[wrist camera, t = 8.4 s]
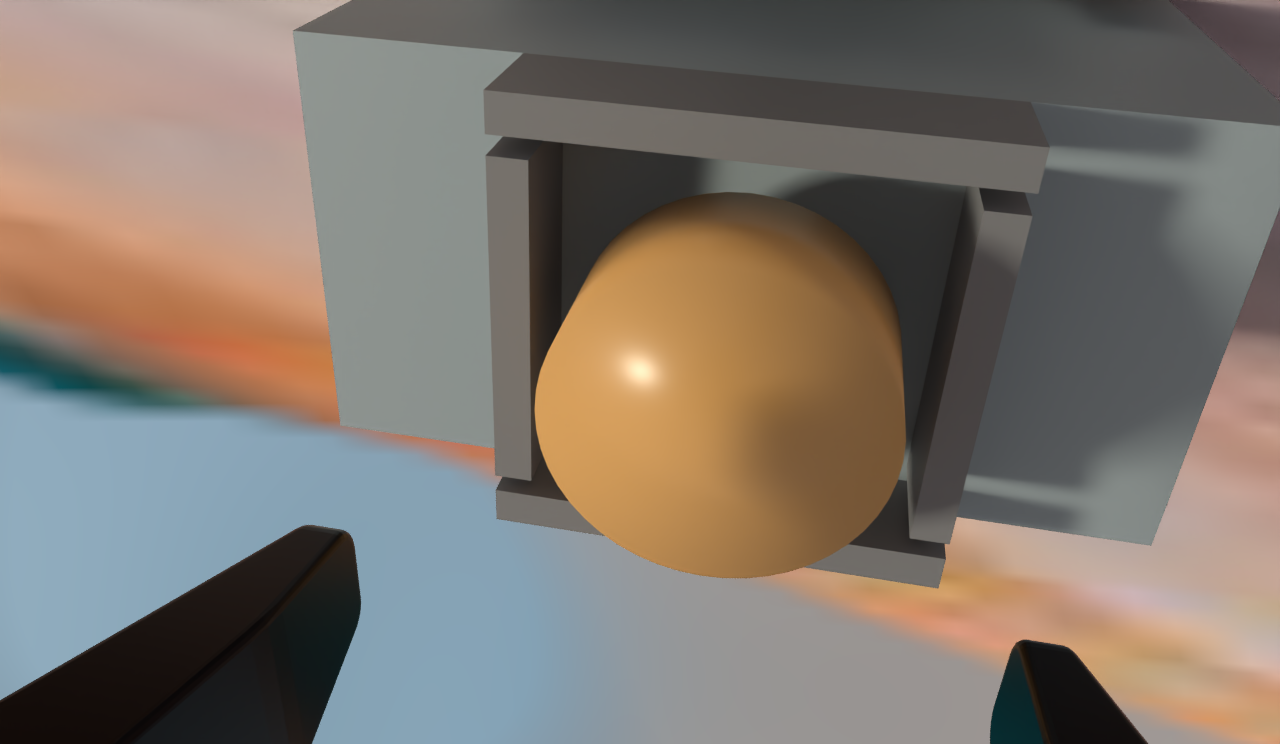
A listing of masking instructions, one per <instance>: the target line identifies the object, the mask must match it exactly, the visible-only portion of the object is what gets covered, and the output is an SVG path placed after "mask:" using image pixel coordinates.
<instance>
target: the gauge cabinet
mask: <svg viewBox="0 0 1280 744" xmlns="http://www.w3.org/2000/svg"><path fill="white" fill-rule="evenodd" d="M293 36H294V45H295V53H296V61H297V69H298V78H299V86H300V94H301V102H302V111H303V119H304V127H305V135H306V144H307V152H308V160H309V168H310V177H311V185H312V193H313V202H314V210H315V218H316V226H317V235H318V243H319V251H320V259H321V268H322V276H323V284H324V292H325V301H326V309H327V317H328V325H329V334H330V342H331V350H332V359H333V367H334V375H335V383H336V392H337V400H338V408H339V416H340V425H341V426H347V427H354V428H361V429H368V430H374V431H381V432H388V433H395V434H401V435H408V436H415V437H422V438H428V439H435V440H442V441H449V442H455V443H462V444H469V445H476V446H482V447H489V448H495V475H496V476H503V477H502V479H501V481H500V483H499V485H498V487H497V489H496V510H497V519H501V520H507V521H514V522H520V523H526V524H532V525H539V526H545V527H551V528H558V529H564V530H570V531H577V532H583V533H589V534H596V535H602V536H605V535H603V534H602V533H601V532H599V531H598V530H597V529H596V528H595V527H594V526H593V525H591V524H590V523H589V522H588V521H587V520H586V519H585V518H584V517H583V516H582V515H581V514H580V513H579V512H578V511H577V510H576V509H575V508H574V507H573V505H572V504H571V503H570V502H569V501H568V499H567V498H566V496H565V495H564V494H563V492H562V491H561V490H560V488H559V487H558V485H557V483H556V482H555V480H554V478H553V476H552V474H551V472H550V471H549V469H548V467H547V464H546V461H545V459H544V456H543V453H542V451H541V448H540V444H539V439H538V435H537V431H536V421H535V396H536V387H537V383H538V379H539V374H540V370H541V368H542V365H543V363H544V360H545V358H546V355H547V353H548V350H549V349H550V347H551V345H552V343H553V341H554V339H555V337H556V335H557V333H558V331H559V330H560V328H561V326H562V324H563V322H564V320H565V318H566V316H567V314H568V312H569V310H570V309H571V307H572V305H573V303H574V301H575V299H576V297H577V295H578V293H579V291H580V290H581V288H582V286H583V284H584V282H585V280H586V278H587V276H588V274H589V272H590V271H591V269H592V267H593V266H594V264H595V262H596V261H597V259H598V257H599V255H600V254H601V253H602V252H603V250H604V249H605V248H606V247H607V246H608V244H609V243H610V242H611V241H612V240H613V239H614V238H615V237H616V236H617V235H618V234H619V233H620V232H621V231H622V230H623V229H625V228H626V227H627V226H628V225H630V224H631V223H633V222H634V221H635V220H637V219H638V218H640V217H641V216H643V215H644V214H646V213H648V212H650V211H652V210H654V209H656V208H658V207H660V206H662V205H665V204H668V203H671V202H674V201H676V200H679V199H682V198H686V197H691V196H696V195H701V194H707V193H720V192H740V193H754V194H759V195H765V196H771V197H775V198H779V199H782V200H785V201H788V202H792V203H795V204H797V205H800V206H802V207H804V208H806V209H809V210H811V211H813V212H815V213H817V214H819V215H821V216H822V217H824V218H826V219H827V220H829V221H830V222H832V223H834V224H835V225H837V226H838V227H839V228H841V229H842V230H843V231H844V232H846V233H847V234H848V235H849V236H851V237H852V238H853V239H854V240H855V241H856V242H857V243H858V244H859V245H860V246H861V247H862V248H863V249H864V250H865V251H866V253H867V254H868V255H869V256H870V257H871V259H872V260H873V262H874V263H875V264H876V266H877V267H878V268H879V270H880V271H881V273H882V275H883V277H884V279H885V280H886V282H887V284H888V286H889V288H890V290H891V293H892V296H893V298H894V301H895V304H896V307H897V310H898V316H899V321H900V326H901V340H902V361H903V383H904V404H905V428H906V445H905V453H904V460H903V465H902V468H901V471H900V475H899V478H898V482H897V484H896V486H895V488H894V490H893V492H892V494H891V496H890V498H889V500H888V502H887V503H886V505H885V506H884V508H883V509H882V510H881V512H880V513H879V515H878V516H877V518H876V519H875V520H874V521H873V522H872V523H871V524H870V525H869V526H868V527H867V528H866V529H865V530H864V531H863V532H862V533H861V534H860V535H859V536H858V537H856V538H855V539H854V540H853V541H851V542H850V543H849V544H848V545H846V546H845V547H843V548H841V549H840V550H838V551H837V552H835V553H833V554H832V555H830V556H828V557H826V558H824V559H822V560H820V561H817V562H815V563H813V564H811V565H808V566H805V567H806V568H812V569H818V570H825V571H831V572H837V573H844V574H850V575H856V576H863V577H869V578H876V579H882V580H888V581H895V582H901V583H907V584H914V585H920V586H926V587H933V588H939V584H940V580H941V576H942V572H943V568H944V564H945V560H946V557H945V545H944V544H950V540H951V537H952V533H953V529H954V525H955V521H956V517H961V518H968V519H975V520H982V521H988V522H995V523H1002V524H1009V525H1015V526H1022V527H1029V528H1036V529H1042V530H1049V531H1056V532H1063V533H1069V534H1076V535H1083V536H1090V537H1096V538H1103V539H1110V540H1117V541H1123V542H1130V543H1137V544H1144V545H1150V546H1151V545H1152V542H1153V540H1154V537H1155V534H1156V532H1157V529H1158V526H1159V524H1160V521H1161V519H1162V516H1163V513H1164V511H1165V508H1166V505H1167V503H1168V500H1169V498H1170V495H1171V492H1172V490H1173V487H1174V484H1175V482H1176V479H1177V476H1178V474H1179V471H1180V469H1181V466H1182V463H1183V461H1184V458H1185V455H1186V453H1187V450H1188V448H1189V445H1190V442H1191V440H1192V437H1193V434H1194V432H1195V429H1196V427H1197V424H1198V421H1199V419H1200V416H1201V413H1202V411H1203V408H1204V406H1205V403H1206V400H1207V398H1208V395H1209V392H1210V390H1211V387H1212V384H1213V382H1214V379H1215V377H1216V374H1217V371H1218V369H1219V366H1220V363H1221V361H1222V358H1223V356H1224V353H1225V350H1226V348H1227V345H1228V342H1229V340H1230V337H1231V335H1232V332H1233V329H1234V327H1235V324H1236V321H1237V319H1238V316H1239V314H1240V311H1241V308H1242V306H1243V303H1244V300H1245V298H1246V295H1247V292H1248V290H1249V287H1250V285H1251V282H1252V279H1253V277H1254V274H1255V271H1256V269H1257V266H1258V264H1259V261H1260V258H1261V256H1262V253H1263V250H1264V248H1265V245H1266V243H1267V240H1268V237H1269V235H1270V232H1271V229H1272V227H1273V224H1274V221H1275V219H1276V216H1277V214H1278V211H1279V208H1280V101H1278V100H1277V99H1276V98H1275V97H1274V96H1273V95H1272V94H1271V93H1270V92H1269V91H1267V90H1266V89H1265V88H1264V87H1263V86H1262V85H1261V84H1260V83H1259V82H1258V81H1257V80H1255V79H1254V78H1253V77H1252V76H1251V75H1250V74H1249V73H1248V72H1247V71H1246V70H1244V69H1243V68H1242V67H1241V66H1240V65H1239V64H1238V63H1237V62H1236V61H1235V60H1233V59H1232V58H1231V57H1230V56H1229V55H1228V54H1227V53H1226V52H1225V51H1224V50H1222V49H1221V48H1220V47H1219V46H1218V45H1217V44H1216V43H1215V42H1214V41H1213V40H1211V39H1210V38H1209V37H1208V36H1207V35H1206V34H1205V33H1204V32H1203V31H1202V30H1200V29H1199V28H1198V27H1197V26H1196V25H1195V24H1194V23H1193V22H1192V21H1191V20H1189V19H1188V18H1187V17H1186V16H1185V15H1184V14H1183V13H1182V12H1181V11H1180V10H1178V9H1177V8H1176V7H1175V6H1174V5H1173V4H1172V3H1171V2H1170V1H1169V0H352V1H350V2H348V3H346V4H344V5H342V6H340V7H338V8H336V9H334V10H332V11H330V12H328V13H326V14H324V15H322V16H320V17H319V18H317V19H315V20H313V21H311V22H309V23H307V24H305V25H303V26H301V27H299V28H297V29H295V30H293Z"/></svg>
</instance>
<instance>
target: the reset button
mask: <svg viewBox="0 0 1280 744" xmlns="http://www.w3.org/2000/svg"><path fill="white" fill-rule="evenodd" d="M535 421H536V431H537V435H538V439H539V444H540V448H541V451H542V453H543V456H544V459H545V461H546V464H547V467H548V469H549V471H550V472H551V474H552V476H553V478H554V480H555V482H556V483H557V485H558V487H559V488H560V490H561V491H562V492H563V494H564V495H565V496H566V498H567V499H568V501H569V502H570V503H571V504H572V505H573V507H574V508H575V509H576V510H577V511H578V512H579V513H580V514H581V515H582V516H583V517H584V518H585V519H586V520H587V521H588V522H589V523H590V524H591V525H593V526H594V527H595V528H596V529H597V530H598V531H599V532H601V533H602V534H603V535H605V536H606V537H608V538H609V539H611V540H612V541H613V542H615V543H616V544H618V545H620V546H621V547H623V548H625V549H627V550H629V551H630V552H632V553H634V554H636V555H638V556H640V557H642V558H644V559H647V560H649V561H651V562H654V563H656V564H659V565H662V566H665V567H668V568H671V569H674V570H678V571H682V572H686V573H691V574H696V575H702V576H709V577H719V578H753V577H763V576H770V575H775V574H780V573H785V572H790V571H793V570H796V569H799V568H802V567H805V566H808V565H811V564H813V563H815V562H817V561H820V560H822V559H824V558H826V557H828V556H830V555H832V554H833V553H835V552H837V551H838V550H840V549H841V548H843V547H845V546H846V545H848V544H849V543H850V542H851V541H853V540H854V539H855V538H856V537H858V536H859V535H860V534H861V533H862V532H863V531H864V530H865V529H866V528H867V527H868V526H869V525H870V524H871V523H872V522H873V521H874V520H875V519H876V518H877V516H878V515H879V513H880V512H881V510H882V509H883V508H884V506H885V505H886V503H887V502H888V500H889V498H890V496H891V494H892V492H893V490H894V488H895V486H896V484H897V482H898V478H899V475H900V471H901V468H902V465H903V460H904V453H905V445H906V428H905V404H904V383H903V361H902V340H901V326H900V321H899V316H898V310H897V307H896V304H895V301H894V298H893V296H892V293H891V290H890V288H889V286H888V284H887V282H886V280H885V279H884V277H883V275H882V273H881V271H880V270H879V268H878V267H877V266H876V264H875V263H874V262H873V260H872V259H871V257H870V256H869V255H868V254H867V253H866V251H865V250H864V249H863V248H862V247H861V246H860V245H859V244H858V243H857V242H856V241H855V240H854V239H853V238H852V237H851V236H849V235H848V234H847V233H846V232H844V231H843V230H842V229H841V228H839V227H838V226H837V225H835V224H834V223H832V222H830V221H829V220H827V219H826V218H824V217H822V216H821V215H819V214H817V213H815V212H813V211H811V210H809V209H806V208H804V207H802V206H800V205H797V204H795V203H792V202H788V201H785V200H782V199H779V198H775V197H771V196H765V195H759V194H754V193H740V192H720V193H707V194H701V195H696V196H691V197H686V198H682V199H679V200H676V201H674V202H671V203H668V204H665V205H662V206H660V207H658V208H656V209H654V210H652V211H650V212H648V213H646V214H644V215H643V216H641V217H640V218H638V219H637V220H635V221H634V222H633V223H631V224H630V225H628V226H627V227H626V228H625V229H623V230H622V231H621V232H620V233H619V234H618V235H617V236H616V237H615V238H614V239H613V240H612V241H611V242H610V243H609V244H608V246H607V247H606V248H605V249H604V250H603V252H602V253H601V254H600V255H599V257H598V259H597V261H596V262H595V264H594V266H593V267H592V269H591V271H590V272H589V274H588V276H587V278H586V280H585V282H584V284H583V286H582V288H581V290H580V291H579V293H578V295H577V297H576V299H575V301H574V303H573V305H572V307H571V309H570V310H569V312H568V314H567V316H566V318H565V320H564V322H563V324H562V326H561V328H560V330H559V331H558V333H557V335H556V337H555V339H554V341H553V343H552V345H551V347H550V349H549V350H548V353H547V355H546V358H545V360H544V363H543V365H542V368H541V370H540V374H539V379H538V383H537V387H536V396H535Z"/></svg>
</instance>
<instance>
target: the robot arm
mask: <svg viewBox="0 0 1280 744" xmlns="http://www.w3.org/2000/svg"><path fill="white" fill-rule="evenodd" d="M360 610H361V596H360V589H359V580H358V571H357V563H356V555H355V546H354V542H353V539H352V537H351V535H350V534H349V533H348V532H346V531H344V530H340V529H333V528H328V527H321V526H315V525H305V526H301V527H299V528H297V529H295V530H293V531H292V532H290V533H288V534H287V535H285V536H283V537H282V538H280V539H278V540H276V541H274V542H273V543H271V544H269V545H267V546H266V547H264V548H262V549H261V550H259V551H257V552H255V553H254V554H252V555H250V556H248V557H247V558H245V559H243V560H241V561H240V562H238V563H236V564H235V565H233V566H231V567H230V568H228V569H226V570H224V571H223V572H221V573H219V574H217V575H216V576H214V577H212V578H211V579H209V580H207V581H205V582H204V583H202V584H200V585H198V586H197V587H195V588H193V589H191V590H190V591H188V592H186V593H185V594H183V595H181V596H180V597H178V598H176V599H174V600H172V601H171V602H169V603H167V604H166V605H164V606H162V607H160V608H159V609H157V610H155V611H153V612H152V613H150V614H148V615H147V616H145V617H143V618H141V619H140V620H138V621H136V622H135V623H133V624H131V625H129V626H128V627H126V628H124V629H122V630H121V631H119V632H117V633H115V634H114V635H112V636H110V637H109V638H107V639H105V640H103V641H102V642H100V643H98V644H96V645H95V646H93V647H91V648H90V649H88V650H86V651H84V652H83V653H81V654H79V655H77V656H76V657H74V658H72V659H71V660H69V661H67V662H65V663H64V664H62V665H60V666H58V667H57V668H55V669H53V670H52V671H50V672H48V673H46V674H45V675H43V676H41V677H40V678H38V679H36V680H34V681H33V682H31V683H29V684H27V685H26V686H24V687H22V688H21V689H19V690H17V691H15V692H14V693H12V694H10V695H8V696H7V697H5V698H3V699H2V700H0V744H312V742H313V739H314V737H315V734H316V732H317V729H318V727H319V724H320V721H321V719H322V716H323V714H324V711H325V708H326V706H327V703H328V700H329V698H330V695H331V693H332V690H333V688H334V685H335V682H336V680H337V677H338V675H339V672H340V669H341V666H342V664H343V662H344V659H345V656H346V654H347V651H348V649H349V646H350V643H351V641H352V638H353V636H354V633H355V630H356V627H357V624H358V621H359V616H360ZM990 744H1148V743H1147V741H1146V740H1145V739H1144V738H1143V737H1142V735H1141V734H1140V733H1139V732H1138V730H1137V729H1136V728H1135V727H1134V725H1133V724H1132V723H1131V722H1130V720H1129V719H1128V718H1127V717H1126V715H1125V714H1124V713H1123V712H1122V710H1121V709H1120V708H1119V707H1118V706H1117V704H1116V703H1115V702H1114V701H1113V699H1112V698H1111V697H1110V696H1109V694H1108V693H1107V692H1106V691H1105V689H1104V688H1103V687H1102V686H1101V684H1100V683H1099V682H1098V681H1097V679H1096V678H1095V677H1094V676H1093V674H1092V673H1091V672H1090V671H1089V670H1088V668H1087V667H1086V666H1085V665H1084V663H1083V662H1082V661H1081V660H1080V658H1079V657H1078V656H1077V655H1076V654H1075V653H1074V652H1073V651H1072V650H1071V649H1069V648H1068V647H1065V646H1062V645H1056V644H1050V643H1044V642H1038V641H1031V640H1021V641H1019V642H1017V643H1016V644H1015V645H1014V647H1013V649H1012V651H1011V653H1010V656H1009V660H1008V663H1007V666H1006V669H1005V673H1004V676H1003V679H1002V682H1001V685H1000V689H999V692H998V695H997V698H996V701H995V705H994V709H993V713H992V719H991V728H990Z"/></svg>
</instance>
